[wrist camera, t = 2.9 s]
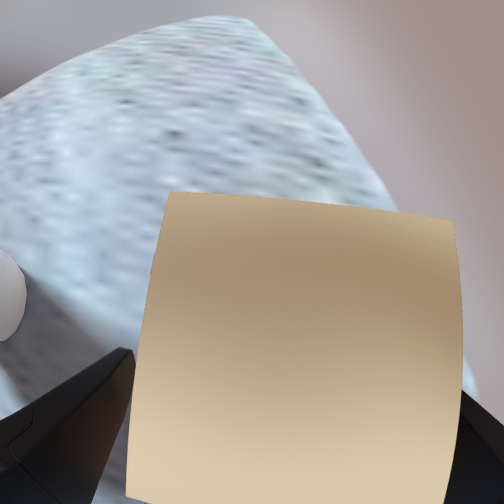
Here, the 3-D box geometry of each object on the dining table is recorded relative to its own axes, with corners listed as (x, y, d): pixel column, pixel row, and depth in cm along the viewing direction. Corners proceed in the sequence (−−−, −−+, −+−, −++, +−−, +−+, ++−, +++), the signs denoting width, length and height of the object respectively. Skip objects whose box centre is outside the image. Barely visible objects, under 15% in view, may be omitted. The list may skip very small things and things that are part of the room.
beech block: (317, 419, 14) (442, 503, 3) (217, 411, 15) (126, 496, 3) (324, 324, 16) (451, 220, 5) (228, 316, 16) (170, 191, 5)
